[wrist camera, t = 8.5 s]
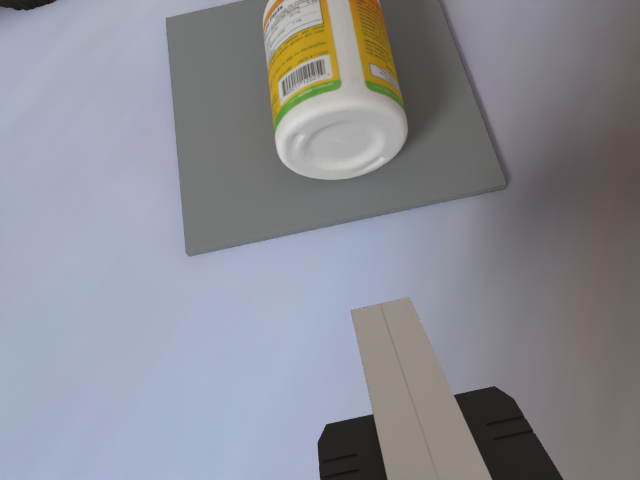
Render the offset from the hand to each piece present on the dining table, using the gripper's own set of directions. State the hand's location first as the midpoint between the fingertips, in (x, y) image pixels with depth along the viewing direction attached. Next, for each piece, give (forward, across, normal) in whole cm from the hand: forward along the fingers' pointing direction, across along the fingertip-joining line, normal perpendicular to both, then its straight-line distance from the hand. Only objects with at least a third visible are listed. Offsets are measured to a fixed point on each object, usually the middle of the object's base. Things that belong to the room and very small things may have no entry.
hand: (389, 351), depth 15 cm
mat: (+16, 0, +5) cm, 17 cm away
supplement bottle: (+10, 0, +3) cm, 11 cm away
